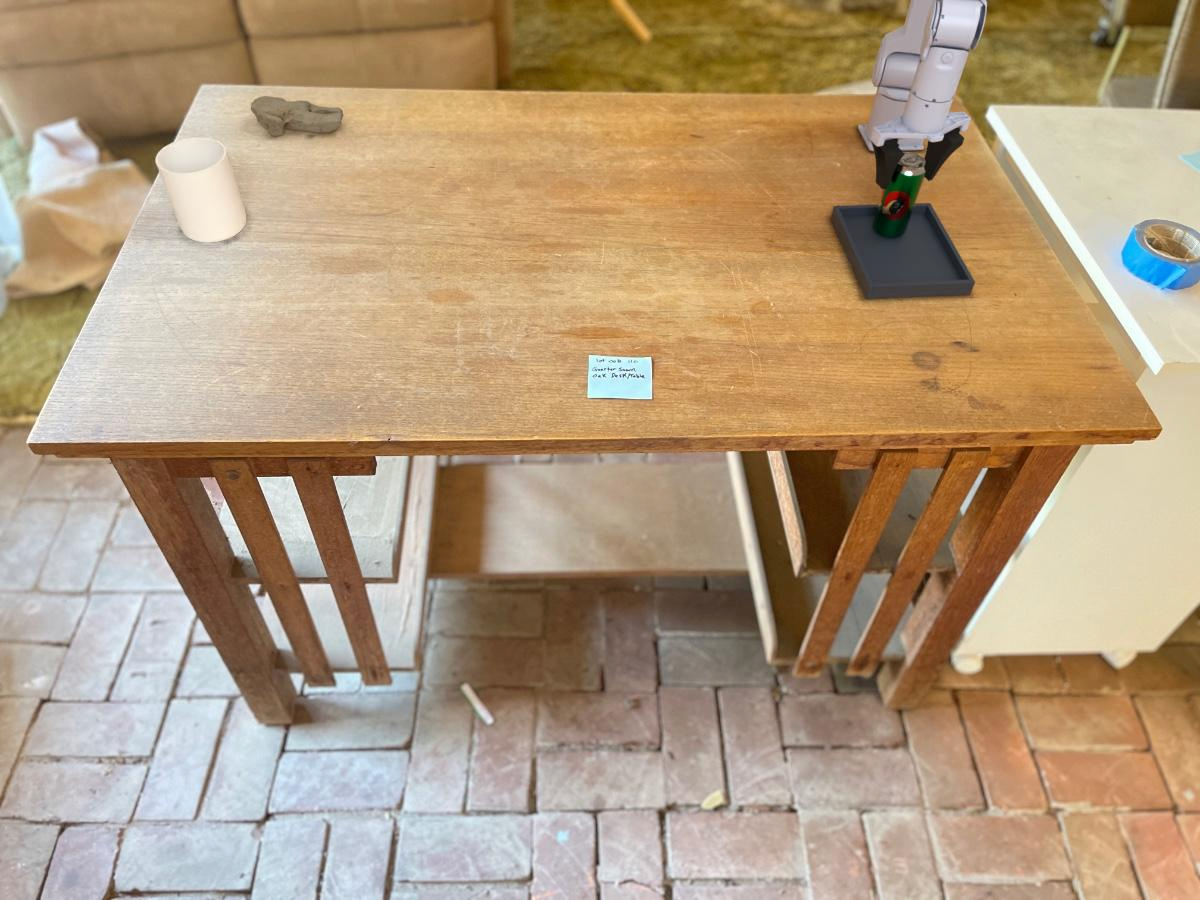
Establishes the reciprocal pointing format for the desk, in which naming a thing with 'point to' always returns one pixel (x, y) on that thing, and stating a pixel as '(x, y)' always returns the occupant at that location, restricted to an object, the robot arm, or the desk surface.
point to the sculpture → (295, 116)
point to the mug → (202, 189)
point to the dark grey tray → (901, 255)
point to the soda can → (900, 197)
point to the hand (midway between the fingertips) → (903, 181)
